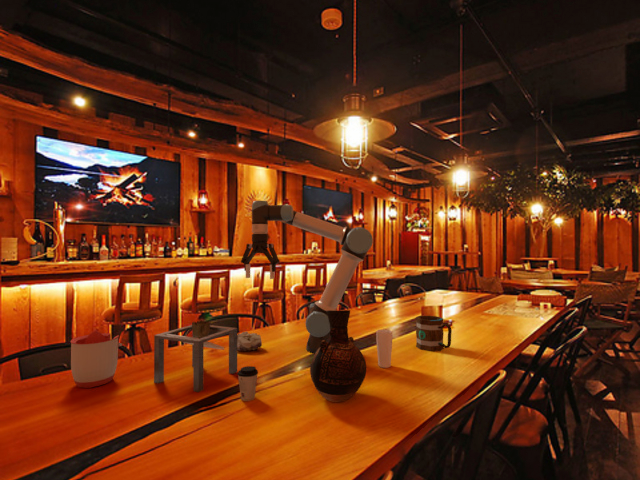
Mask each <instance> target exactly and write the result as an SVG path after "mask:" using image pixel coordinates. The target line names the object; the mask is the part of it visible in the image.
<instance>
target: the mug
mask: <svg viewBox="0 0 640 480" xmlns="http://www.w3.org/2000/svg"><path fill="white" fill-rule="evenodd" d="M415 323H416V328H415V334H416V335H415V337H416V342H415V343H416V345H415V347H416V348H417V349H419V350H421V351H426V352H441V351H443V350H444V349H448V348H450V347H451V344H452V332H453V331H452V327H451V325H450V324H448V323H444V318H443V317H440V316H437V315H418V316H416V317H415ZM445 327H446V328H447V330H448V331H447V344H444V335H445V334H444V328H445Z"/></svg>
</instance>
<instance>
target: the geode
mask: <svg viewBox="0 0 640 480" xmlns="http://www.w3.org/2000/svg"><path fill="white" fill-rule="evenodd" d="M262 343H263V342H262V338H261V335H260V334H257V333H254V332H253V333H249V332H248V331H243V332H241V333H237V352H238V351H239V352H242V351H244V352H247V351H251V350H253V351H256V350H257V349H260V348H261V347H262V346H263V344H262Z"/></svg>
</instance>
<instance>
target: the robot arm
mask: <svg viewBox="0 0 640 480" xmlns="http://www.w3.org/2000/svg"><path fill="white" fill-rule="evenodd" d="M269 221H270V222H281V223H283V224H287V225H289V226H293V227H296V228H298V229H301V230H303V231H307V232H309V233H313V234H315V235H318V236H321V237H324V238H327V239H330V240H333V241H335V242H338V243H339V245H341V246H342V247H341V249H340V252H341V256H340V258H339V260H338V262H337V264H336V266H335V268H334V270H333V272H332V274H331V277H330V278H329V280H328V282H327V284H326V286H325V288H324V291H323V293H322V295H321V297H320V299H319V300H317V301H315V302H314V303H310V305H309V314H308V315H307V316H306V319H305V328H306V331H307V332H308V333H309V336H308V339H307V342H306V349H305V350H306V351H307V352H309V353H314V354H315V353H316V351H317V350H318V349H319V348H320V344H321V342H322V341H323V340H325V341H327V340H328V339H329V338H330V324H329V319H328V316H327V311H329V310H332V311H334V310H337V308H338V305H339V303H340V302H341V300H342V297H343V295H344V293H345V292H346V290H347V287H348V285H349V283H350V282H351V279H352V277H353V275H354V274H355V271H356V269H357V267H358V266H359V263H360V262H363V261H365V258H366V256H367V254H368V252H369V250H370V249H371V247H373V246H372V245H373V244H374V243H373V241H374V239H373V235H372V233H371V232H370V231H369V230H368V229H366V228H365V227H361V226H356V227H353V228H352V227H349V226H345V227H343V226H341V225H337V224H334V223H331V222H328V221H326V220H323V219H320V218H317V217H314V216H310V215H308V214H305V213H302V212H299V211H296V210H294V208H293V205H291V204H276V205H275V204H274V205H271V204H270V205H269V203H268V201H266V200H254V201H253V202H252V204H251V233H252V234H251V241H252V243H246V247H245V250H244V253H243V255H242V258H241V260H240V263H241V264H244V265H243V266H244V271H245V279H251V263H250V262H251V261H252V260H253V258H254V257H255V255H256V254H263V255H264V256H265V257H266V259H267V260H268V262H270V264H269V280H274V279H275V272H276V271H277V269H276V268H277V267H276V266H277V264H280V259H279V257H278V254H277V252H276V249H275V247H274V246H275V245H274V243H268V241H269V235H268V233H269Z"/></svg>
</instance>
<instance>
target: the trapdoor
mask: <svg viewBox="0 0 640 480" xmlns="http://www.w3.org/2000/svg"><path fill="white" fill-rule="evenodd" d="M167 335H171V334H167ZM171 336H178V337H186V338H193V339H199V338H194V337H192V336H184V335H177V334H173V335H171ZM183 343H185V344H189V345H194V343H187V342H183ZM203 348H208V349H209V348H210V349H214V350H225V347H224V346H222V345H220V344H216V343H213V342H211V341H206V342H204V345H203Z"/></svg>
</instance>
